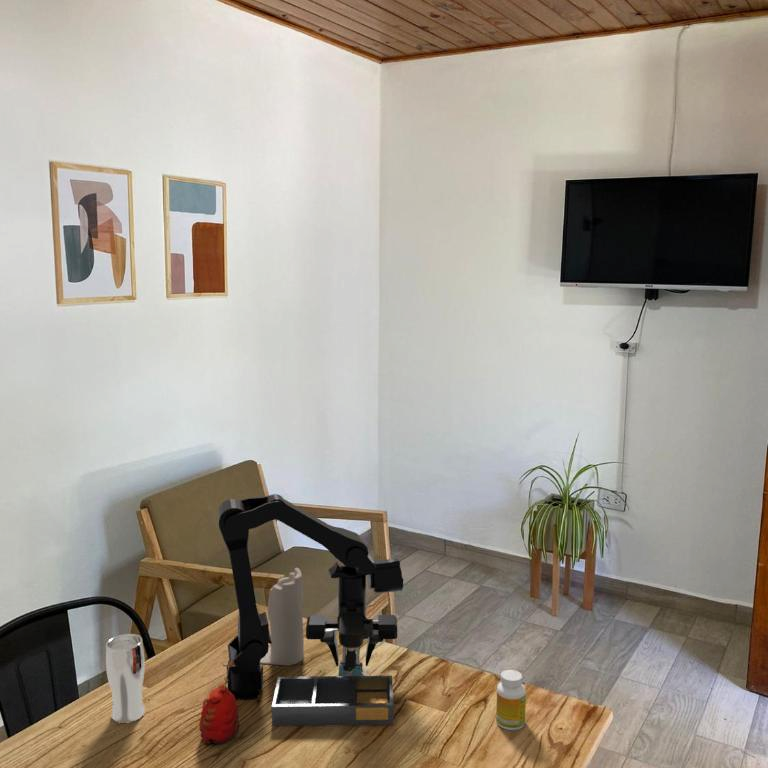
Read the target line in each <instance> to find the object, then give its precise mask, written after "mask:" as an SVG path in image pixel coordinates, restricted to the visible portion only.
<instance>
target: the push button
mask: <svg viewBox="0 0 768 768" xmlns="http://www.w3.org/2000/svg"><path fill="white" fill-rule="evenodd" d="M364 640H365V639H363V641H364ZM341 646H342V657H341V660H340V661H339V662H340V663H339V664H338V676H370V670H368V669H364V668H363V665H364V663H363V662H362V661H361V660H360V656H361V655H360V652H361V648H360V647H361V646H362V645H341Z"/></svg>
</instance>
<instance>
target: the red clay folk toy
mask: <svg viewBox="0 0 768 768" xmlns="http://www.w3.org/2000/svg"><path fill="white" fill-rule="evenodd" d="M233 660H234V659H232V661H231V662H230V663H229V664H228V663H227V664H228V666H227V664H222V666H223V667H226V668H227V667H228V672H229V668H230V667H234V666H236V665H234V661H233ZM228 672H227V671H226V676H225V677H224V678H223V680H224V681H225V683H224V685H223V684H222V685H219V687H217V688H213V689H212V690H211V691H210V693H209V694H208V695H207V697H206V698H205V699H204V700H203V702H202V710H201V713H200V714H201V715H200V719H199V728H198V730H199V731H200V737H201V738H202V742H203V744H204V745H210V744H212V743H213V744H214V745H220V744H224V743H226V742H229V741H230V740H231V739H232V738H236V737H237V736H238V733H239V732H240V731H239V729H240V720H239V712H238V711H239V709H238V705H237V704H238V703H237V699H235V696H234V695H233V694H232V693H231V692H230V691H229V690H228V686H227V682H228Z"/></svg>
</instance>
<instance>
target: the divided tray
mask: <svg viewBox="0 0 768 768" xmlns="http://www.w3.org/2000/svg"><path fill="white" fill-rule="evenodd" d="M393 687H394V686H393V675H369V676H339V675H332V676H331V675H330V676H329V675H326V676H325V675H321V676H320V675H318V676H316V675H315V676H313V675H312V676H310V675H308V676H306V675H305V676H277V679H276V684H275V689H274V692H273V693H274V694H273V699H272V702H271V703H272V704H271V727H322V726H323V727H325V726H324V725H346V726H394V710H395V709H394V706H395V705H394V689H393ZM376 724H377V725H376ZM386 724H387V725H386Z"/></svg>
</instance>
